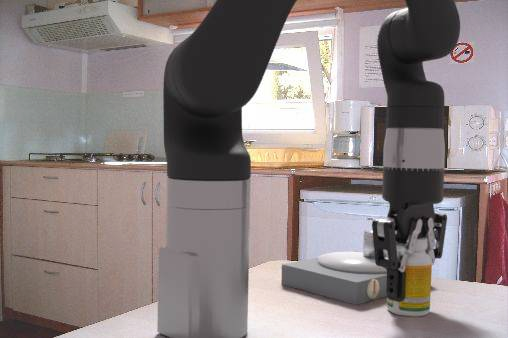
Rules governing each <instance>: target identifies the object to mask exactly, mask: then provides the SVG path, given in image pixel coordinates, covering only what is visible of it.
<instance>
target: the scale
mask: <svg viewBox="0 0 508 338" xmlns="http://www.w3.org/2000/svg"><path fill="white" fill-rule="evenodd" d="M281 285H284V286H286V287H289V288H290V287H291V288H294V289H298V290H302V291H305V292H308V293H312V294H316V295H320V296H323V297H327V298H329V299H330V298H331V299H335V300H338V301H342V302H345V303H348V304H352V305H355V306H357V305H361V304H363V303H367V302H371V301H374V300H378V299H381V298H385V297H387V293H386V288H387V287H386V286H387V270H386V269H385V268H384V267H381V266H377V265H376V263H375V259H370V258H365V257H363V251H359V250H352V251H335V252H334V251H333V252H327V253H322V254H320V255H319V256H318V257H315V258H309V259H303V260H298V261H293V262H288V263H283V264H281Z"/></svg>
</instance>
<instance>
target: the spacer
mask: <svg viewBox="0 0 508 338" xmlns="http://www.w3.org/2000/svg"><path fill="white" fill-rule="evenodd" d="M362 252H363V257H365V258H370V259H375V252H374V242H373V231H372V229H365V230H363V247H362ZM383 252H384V257H386V253H387V250H384V249H383Z"/></svg>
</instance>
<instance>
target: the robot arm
mask: <svg viewBox="0 0 508 338" xmlns="http://www.w3.org/2000/svg"><path fill="white" fill-rule="evenodd" d="M404 1H405V4H406V7H405V8H402V9H399V10H395V11H393V12H391V13H390V14H388V15H387V17H386V18H384V20H383V22H382V23H381V25H380V28H379V31H378V35H377V43H376V44H377V45H376V46H377V56H378V62H379V66H380V70H381V75H382V81H383V84H384V88H385V92H386V96H387V97H386V98H387V103H386V119H385V120H386V121H385V122H386V123H385V124H386V126H385V127H386V130H385V136H384V142H383V153H382V154H383V158H382V159H383V160H382V161H383V162H382V183H381V184H382V189H381V190H382V192H381V193H382V194H381V195H382V196H381V197H382V199H383V201H385V202H388V204H389V207H388V208H389V209H388V212H387V215H386V216H387V217H386V218H383V219H379V218H378V219H376V218H375V219H373V220H372V222H371V227H372V228H371V230H372V231H373V242H374V252H375V263H376V265H377V266H381V267H384V268H385V269H386V270H387V286H386V287H387V288H386V293H387V296H386V299H387V298H388V299H389V300H393V301H397V302H401V301H404V299H405V280H406V272H404V271H405V269H406V265H407V261H408V257H409V256H410V255H412V254H413V252H414V248H415V244H416V240H417V239H419V238H424V237H426V238H427V246H428V247H427V249H426V250H425V253H427V254H428V255H429V256H430V257H431V259H432V266H433V265H435V263H436V260H437V259H441V258H442V257H443V252H444V243H445V237H446V229H447V223H448V222H447V221H448V216H447V214H446V213H440V212H435V208H434V205H437V204H441V203H442V202H443V201H444V186H445V185H444V184H445V183H444V182H445V162H446V161H445V160H446V158H445V157H446V155H445V154H446V144H445V143H446V142H445V136H444V135H445V133H444V125H445V123H444V122H445V92H444V91H445V90H444V89H443V87H442V85H440V83H437V82H434V81H429V80H427V78H426V74H425V70H424V62H429V61H434V60H435V61H436V60H440V59H443V58H445V57H447V56H448V55H450V54H451V53H452V52H453V50H454V49H455V48H456V46H457V44H458V41H459V38H460V34H461V33H460V32H461V18H460V14H459V10H458V8H457V4H456V2H455V0H404ZM296 2H297V0H216V1H215V2H214V4H213V5H212V7H211V8H210V9H209V11H208V13H207V14H206V16H205V17H204V18H203V19H202V21H201V22H200V23H199V25H198V26H197V28H195V30H193V32H192V33H191V34H190V35H189V36H188V37H186V38H185V39H183V41H181V42H180V43H179V44H177V45H176V46H175V47H174V48H173V49H172V51H171V52H170V54H169V55H168V58H167V60H166V62H165V67H164V73H163V74H164V75H163V92H162V93H163V99H162V101H163V103H162V104H163V105H162V106H163V110H162V111H163V148H164V154H165V160H166V176H167V178H166V218H165V219H166V223H165V224H166V225H165V226H166V231H165V234H166V235H165V236H166V237H165V245H164V246H159V248H158V254H157V255H158V257H157V262H158V263H157V264H158V265H157V326H156V327H157V333H159V334H161V335H163V336H165V337H167V338H243V337H244V336H246V335H247V333H248V324H249V323H248V317H249V272H250V271H249V269H250V266H249V265H250V230H251V229H250V226H251V225H250V221H251V220H250V219H251V184H252V183H251V180H252V179H251V175H252V174H251V172H252V171H251V170H252V163H251V162H252V160H251V155H250V153H249V151H248V149H247V147H246V144H245V141H244V136H243V107H245V106H246V105H247V104H249V102H251V100H252V99H253V97H255V95H256V93H257V91H258V89H259V88H260V85H261V83H262V81H263V78H264V76H265V73H266V72H267V71H266V70H267V69H268V65H269V64H270V61H271V58H272V56H273V53H274V50H275V48H276V46H277V44H278V41H279V39H280V36H281V35H282V34H281V33H282V31H283V29H284V26H285V24H286V22H287V20H288V17H289V15H290V13H291V11H292V9H293V8H294V6H295V4H296ZM396 242H397V243H402V244H406V245H404V246H400V245H396ZM383 249H384V250H387V253H386V257H384V252H383ZM397 253H400V258H399V261H398V260H397Z"/></svg>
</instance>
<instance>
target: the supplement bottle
mask: <svg viewBox="0 0 508 338" xmlns="http://www.w3.org/2000/svg"><path fill="white" fill-rule="evenodd" d="M396 245H400V246H404V245H406V244H402V243H397V242H396ZM427 247H428V246H427V238H426V237H424V238H419V239H417V240H416V244H415V248H414V252H413V254H412V255H410V256H409V257H408V261H407V265H406V269H405V271H404V272H406V280H405V299H404V301H401V302H397V301H393V300H389V299H388V298H387V297H386V308H387V310H388V311H389V312H390V313H392V314H395V315H398V316H402V317H403V316H404V317H405V316H406V317H413V318H414V317H423V316H427V315H429V313H430V312H431V311H430V310H431V293H432V292H431V290H432V271H433V270H432V266H433V265H432V259H431V257H430V256H429V255H428V254H427V253H425V250H426V249H427ZM399 258H400V253H397V260H398V261H399Z"/></svg>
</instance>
